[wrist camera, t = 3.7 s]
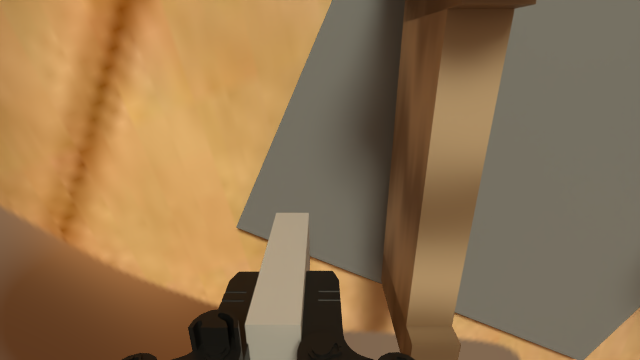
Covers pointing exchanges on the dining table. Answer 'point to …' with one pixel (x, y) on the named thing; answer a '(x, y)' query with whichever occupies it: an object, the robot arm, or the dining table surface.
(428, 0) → the wooden block
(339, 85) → the base board
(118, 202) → the dining table surface
